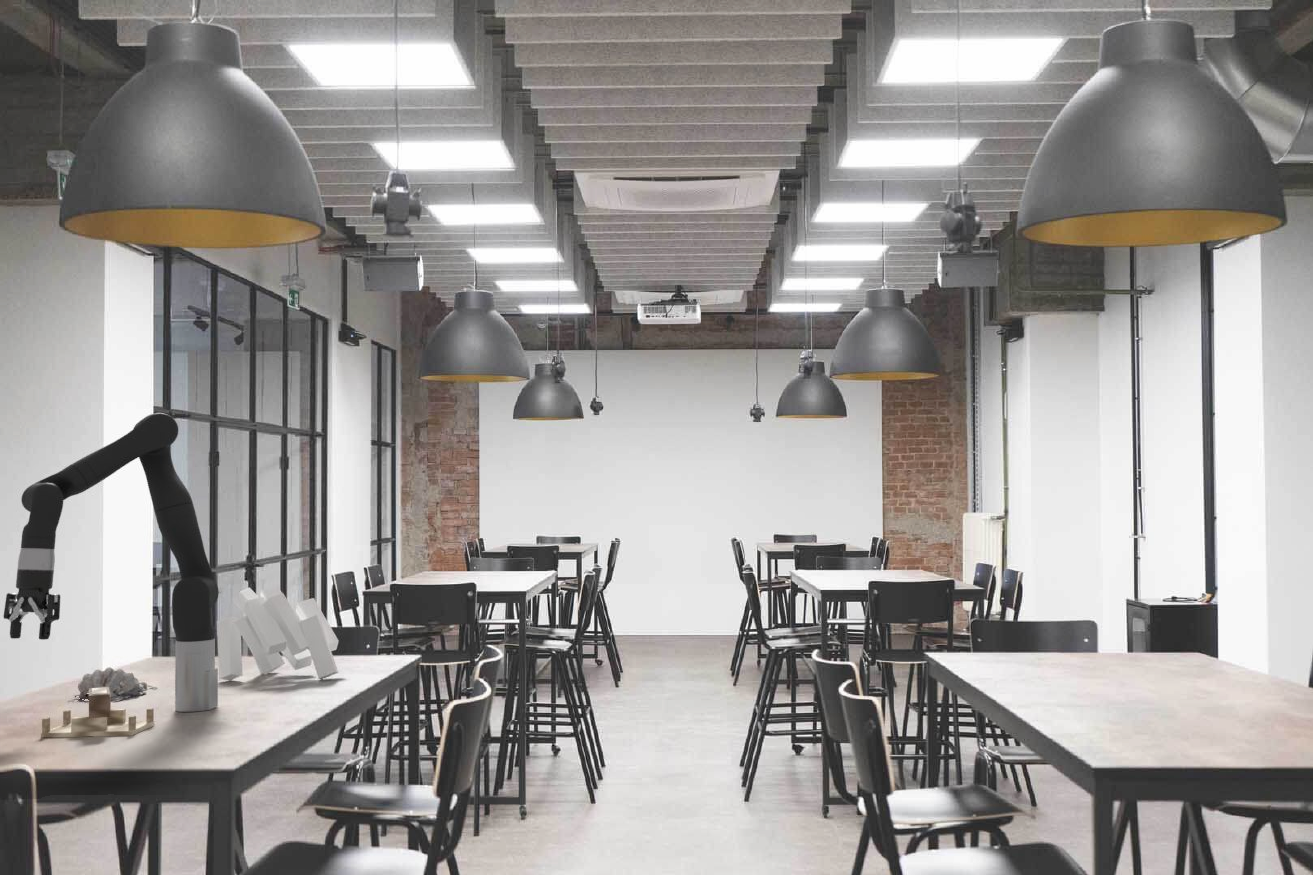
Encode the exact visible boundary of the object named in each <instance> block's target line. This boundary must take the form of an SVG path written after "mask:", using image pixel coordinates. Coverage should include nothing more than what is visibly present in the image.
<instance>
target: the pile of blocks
mask: <svg viewBox="0 0 1313 875" xmlns="http://www.w3.org/2000/svg"><path fill="white" fill-rule="evenodd" d="M231 602H232V603H233V605H235V606H236V607H237V608H238V609H239V610H240V611H241V612H242V613H243V614H244V616H242V617H241V618H240V617H238V616H232V615H228V616H225V617H223V618H220V619H219V620H217V621H216V632H217V656H218V657H217V661H218V662H217V663H218V680H222V681H223V680H224V681H233V680H235V679H237V678H239V677H242V676H243V674H244V673H243V656H242V655H243V654H242V639H243V641H244V642H245V644H246V645H247V647H248V649H249V650H250V652H251V654H252V656H253V658H254V662H255V664H256V666H257V669H258V672H259V674H260V675H268V674H269V673H272V672H273V673H274V672H275V670H277V669H279V668H281V666H283V665H284V664H286V663H285V662H286V661H287V662H288V663H289V665H291V667H292V668H293V670H294V671H297V670H300V669H302V668H307V667H310V666H311V665H312V662H313V666H314V669H315V671H316V674H317V675H316V676H317V677H318V679H320V680H323V678H324V679H326V678H329V677H331V676H333V675H336V674H339V670H338V666H337V664H336V661H335V658H334V655H333V652H334V651H336V650H337V648H338V645H339V641H340V640H339V639H338V637H337V635H336V634H335V632H334V630H333V628H332V627H331V625H330V623H329V621H328V620H327V618H326V617H325V615H324V613H323V611H322V610H321V608H320V606H319V604H318V603H317V601H316V599H315V598H314V597H312V598H308V599H304V600H300V601H297V603H296V607H295V611H294V609H293V606H292V605H291V604H290V602H289V601H288V599H287V597H286V595H285V593H284V592H282V591H281V589H280V587H279V585H275V586H272V587H268V588H264V589H261V591H260V596H259V595H258V594H257V593H255V592H254V590H253V589H252V588H251V587H246V588H244V589H242V590H241V591H239V592H238V593H237V594H236V595H235V596H234V598H233V599H232V600H231ZM241 637H242V638H241ZM281 654H282V655H281ZM282 656H283V657H284V658H285V659H286V661H285V660H284V659H283V657H282Z"/></svg>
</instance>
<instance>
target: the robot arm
mask: <svg viewBox="0 0 1313 875" xmlns="http://www.w3.org/2000/svg"><path fill="white" fill-rule="evenodd" d="M178 435H179V426H178V423H177V421H176V419H174V418H173V417H172V416H171V415H169V414H166V413H163V412H155V413H151V414H149V415H146V416H145V417H144V418H142V419H140V420H139V421H138V422H137V423H136V424H135V425H134V427H133V429H132V430H131V431H129V432H128V433H126V434H124V435H122V437H120V438H118V439H117V440H115V441H113V442H111V443H110V444H107V445H106V446H102V447H101V448H99V449H97V450H95V451H93V452H91V453H89V454H87V455H85V456H84V457H82V458H79V460H76V461H74V462H73V463H71V464H69V465H68V466H65V467H64V468H63V469H61V470H60V471H59V472H56V473H54V474H51V475H49V476H48V477H45V478H42V479H40V480H39V481H36V482H35V483H33V484H31V485H30V486H28V487H27V488H25V490H24V491H23V492H22V495H21V499H20V500H21V504H22V507H23V508H24V509H25V510H27V511H28V512H29V518H28V522H27V523H26V524H25V525H24V527H23V529H22V533H21V541H20V552H19V555H18V561H17V568H16V569H17V571H16V580H15V581H16V582H15V588H16V589H18V591H17V592H14V593H13V592H8V593H6V597H5V605H4V609H3V619H5V620H9V622H10V625H9V626H10V627H9V629H10V630H9V637H10V639H13V640H14V639H20V638H21V636H22V634H21V633H22V626H23V623H22V620H23V619H24V617H25V616H26V615H28V614H29V613H34V614H35V616H38V619H39V621H40V623H39V630H38V639H39V640H42V641H43V640H49V638H50V636H51V630H52V629H51V627H52V623H53V622H55V621H58V620H59V619H60V613H61V612H60V611H61V594H60V593H50V590H51V589H52V588H53V583H54V572H55V562H56V560H55V559H56V558H55V557H56V556H55V547H56V539H57V538H56V534H57V529H58V525H59V523H60V520H61V515H62V512H63V508H64V501H65V500H66V499H68V498H70V497H72V496H76V495H77V496H78V495H79V494H81V493H84V492H85V491H87V490H89V489H91V488H92V487H94V486H96V485H98V484H99V483H101V482H103V481H104V480H105V479H107V478H108V477H110V476H112V475H113V474H114V473H116V472H117V471H119V470H120V469H122V468H123V467H125V466H126V465H128V464H130V463H131V462H133V461H134V460H136V459H139V461H140V463H141V466H142V469H143V471H144V475H145V478H146V482H147V483H146V484H147V487H148V490H149V494H150V499H151V502H152V506H153V511H154V515H155V519H156V523H157V525H158V529H159V531H160V533H161V536H162V538H163V540H164V542H165V543H166V545H167V547H168V548H169V550H170V551H171V553H172V554H173V556H174V558H175V560H176V563H177V565H178V570H179V575H180V580H179V581H177V582H176V583H175V585H174V588H173V590H172V595H171V596H172V597H171V615H172V618H171V620H172V628H173V631H174V634H175V651H174V652H175V657H174V659H175V660H174V661H175V665H174V668H175V669H174V671H175V672H174V673H175V674H174V678H175V680H174V682H175V683H174V684H175V686H174V688H175V690H174V692H175V693H174V696H175V698H174V699H175V700H174V704H175V705H174V706H175V708H174V710H175V712H183V713H184V712H185V713H190V712H192V713H193V712H203V711H211V710H212V709H214V708H216V707H218V706H219V705H218V704H219V703H218V702H219V697H218V695H219V686H218V685H219V682H218V681H219V668H216V639H215V638H216V629H215V627H214V626H213V624H212V621H211V608H212V607H214V606H215V604H216V603H217V602H218V599H219V591H220V590H219V586H218V583H217V581H216V578H215V575H214V573H213V571H212V567H211V565H210V563H209V560H208V558H207V555H206V551H205V547H204V542H203V537H202V534H201V531H200V527H199V522H198V516H197V512H196V510H195V506H194V502H193V499H192V497H191V494H190V493H189V491H188V489H187V487H186V486H185V485H184V482H183V481H182V480H181V478H180V477H179V475H178V473H177V472H176V469H175V467H174V464H173V459H172V455H171V451H170V447H171V445H173V444H174V443H175V441H176V440H177V438H178Z"/></svg>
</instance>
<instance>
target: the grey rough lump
mask: <svg viewBox="0 0 1313 875" xmlns="http://www.w3.org/2000/svg"><path fill="white" fill-rule="evenodd" d="M101 687H109V690H110V696H111V702H113V703H115V702H120V701H124V700H125V699H127V698H130V699H131V698H133V697H141V696H142V695H143V694H144V695H145V694H147V691H148V690H153V691H155V690H157V688H158V687H157V686H153V685H148V684H147V683H146V682H144V681H141V682H140V681H139V680H138V678H136V677H135V675H134V673H133V672H131V673H130V672H125V671H124V670H123V669H122V668H119V669H117V670H114V669H113V668H112V667H111V666H110V667H106V668H105V669H104V670H100V669H95V670H94V671H93V672H92V673H85V674H84V675H83V677H82V680H81V681H80V682H79V683H78V685H77V689H78V692H80V693H79V694H76V695H74V696H79V697H78V698H74V699H70V700H68V702H72V703H75V702H74V701H75V700H78V701H79V702H78V703H89V701H84V700H85V699H88V700H89V694H87V693H89V689H90V688H101ZM79 698H80V699H79ZM82 699H84V700H82Z"/></svg>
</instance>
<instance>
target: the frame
mask: <svg viewBox="0 0 1313 875" xmlns="http://www.w3.org/2000/svg"><path fill="white" fill-rule="evenodd" d="M110 709H112V708H111V696H110V690H109V687H101V688H90V689H89V702H88V717H89V719H90V718H101V717H110Z"/></svg>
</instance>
